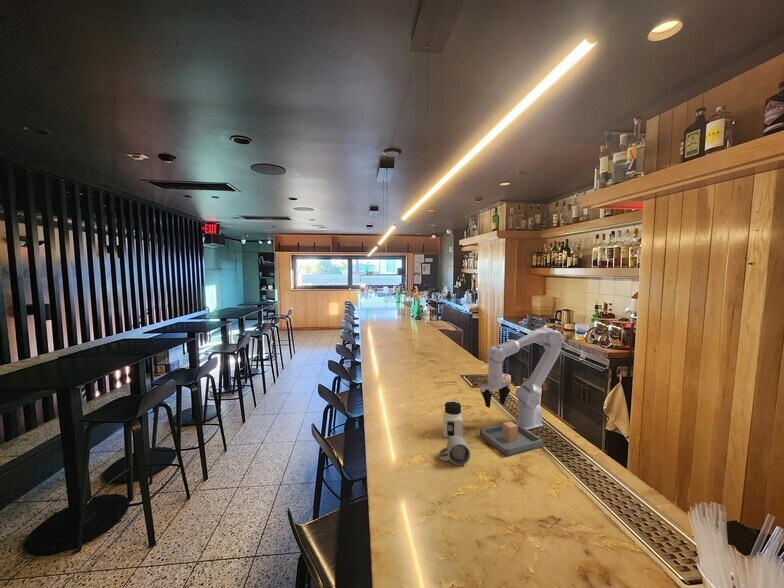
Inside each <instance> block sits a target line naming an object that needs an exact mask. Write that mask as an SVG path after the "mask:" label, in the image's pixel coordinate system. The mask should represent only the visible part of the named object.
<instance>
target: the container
mask: <svg viewBox="0 0 784 588" xmlns="http://www.w3.org/2000/svg"><path fill="white" fill-rule="evenodd" d="M442 420H443V422H442V423H443V425H442V430H443V431H442V433H443V435H442V436H443V437H445V438H450V437H452V436H454V435H458V436H461V437H462V438H463V424H464V423H463V412H462V404H461V403H460V402H458V401H456V400H449V401H447V402H445V404H444V411H443V419H442Z"/></svg>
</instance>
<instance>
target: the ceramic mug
mask: <svg viewBox="0 0 784 588" xmlns="http://www.w3.org/2000/svg"><path fill="white" fill-rule="evenodd" d="M446 453H447V455H444V454H446ZM443 455H444V456H443ZM438 458H439V460H440V461H442V462H447V461H449V462H451V463H452V464H453V465H455V466H464V465H465V464H467V463H468V462H469V461H470V458H471V450H470V448H469V447H468V443H467V441H466V440H465V439H464V438H463V437H461V436H458V435H454V436H452V437H448V439H447V442H446V447H444V448H442V449H440V451H439V452H438Z"/></svg>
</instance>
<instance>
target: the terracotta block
mask: <svg viewBox="0 0 784 588" xmlns="http://www.w3.org/2000/svg"><path fill="white" fill-rule="evenodd" d="M513 422H514V421H507V422H506V421H505V422H502V425H503V438H504V439H505V440H507V441H508V442H514V441H518V426H517V425H516V424H514V423H513Z"/></svg>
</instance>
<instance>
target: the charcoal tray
mask: <svg viewBox="0 0 784 588" xmlns="http://www.w3.org/2000/svg"><path fill="white" fill-rule="evenodd" d="M512 422H513V423H514V424H516V425H517V426H518V441H514V442H508V441H507V440H505V439H504V438H503V424H498V425H494V426H490V427H486V428H483V429H482V428H481V429H479V437H481V438H482V439H483V440H485V441H486V442H487V443H488V444H490V445H491V446H492V447H494V449H496V450H497V451H498V452H499V453H501V454H502V455H503V456H505V457H506V458H508V457H510V456H514V455H518V454H521V453H526V452H529V451H533V450H536V449H540V448H543V447H545V439H543V438H541V437H540V436H539V435H536V434H535V433H533V432H532V431H530V430H529V429H528V430H527V429H525V428H524V427H522V426H520V425H519V424H517V423H515V422H514V421H512Z"/></svg>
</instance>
